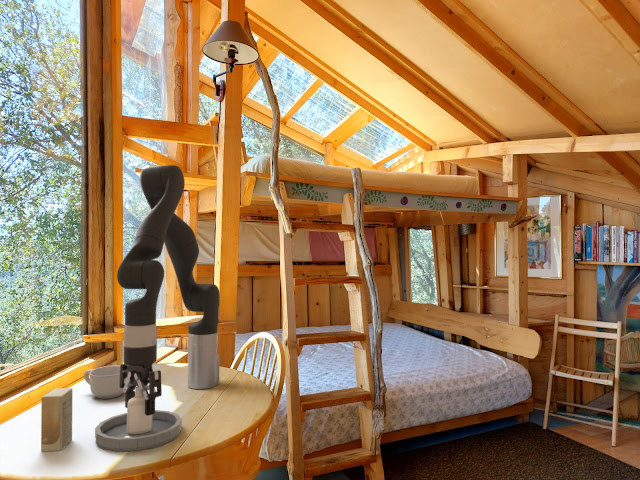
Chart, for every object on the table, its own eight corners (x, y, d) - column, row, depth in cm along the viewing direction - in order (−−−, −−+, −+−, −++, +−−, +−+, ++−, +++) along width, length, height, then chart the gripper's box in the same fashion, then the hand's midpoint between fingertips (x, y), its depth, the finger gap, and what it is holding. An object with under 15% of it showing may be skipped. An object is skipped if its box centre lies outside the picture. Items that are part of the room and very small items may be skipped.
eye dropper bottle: (147, 435, 112) (149, 384, 112) (123, 434, 112) (125, 383, 112) (154, 428, 116) (155, 379, 116) (131, 427, 116) (132, 378, 116)
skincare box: (53, 440, 111) (54, 387, 111) (72, 440, 111) (73, 387, 111) (39, 452, 104) (40, 396, 105) (60, 451, 105) (61, 395, 105)
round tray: (152, 415, 127) (152, 405, 127) (196, 432, 116) (196, 421, 116) (80, 437, 112) (80, 425, 112) (123, 459, 101) (123, 446, 101)
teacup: (135, 393, 147) (135, 367, 148) (106, 403, 138) (107, 375, 138) (103, 387, 153) (103, 362, 153) (73, 397, 143) (73, 370, 144)
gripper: (171, 344, 113) (170, 413, 113) (138, 337, 122) (137, 401, 121) (142, 349, 107) (142, 422, 107) (110, 341, 116) (109, 408, 116)
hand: (139, 410), depth 114 cm, fingers open, 8 cm apart
